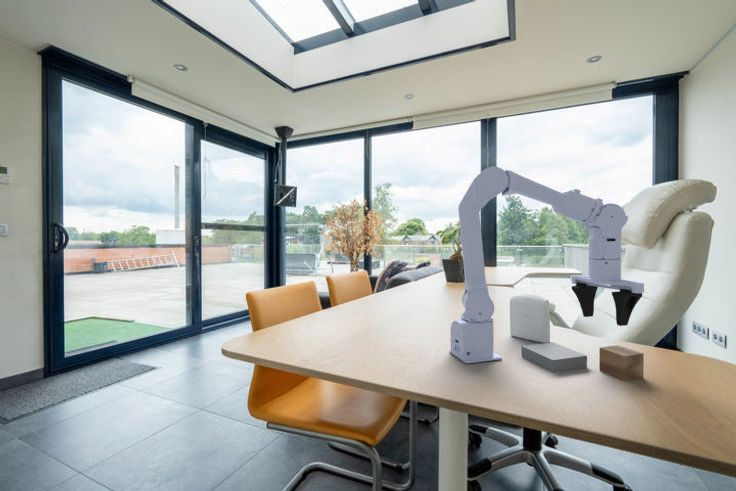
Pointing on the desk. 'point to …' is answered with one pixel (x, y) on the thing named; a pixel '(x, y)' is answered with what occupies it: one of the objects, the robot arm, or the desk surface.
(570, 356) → the base slab
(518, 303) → the photo printer
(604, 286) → the robot arm
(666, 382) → the desk surface
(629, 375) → the walnut cube
